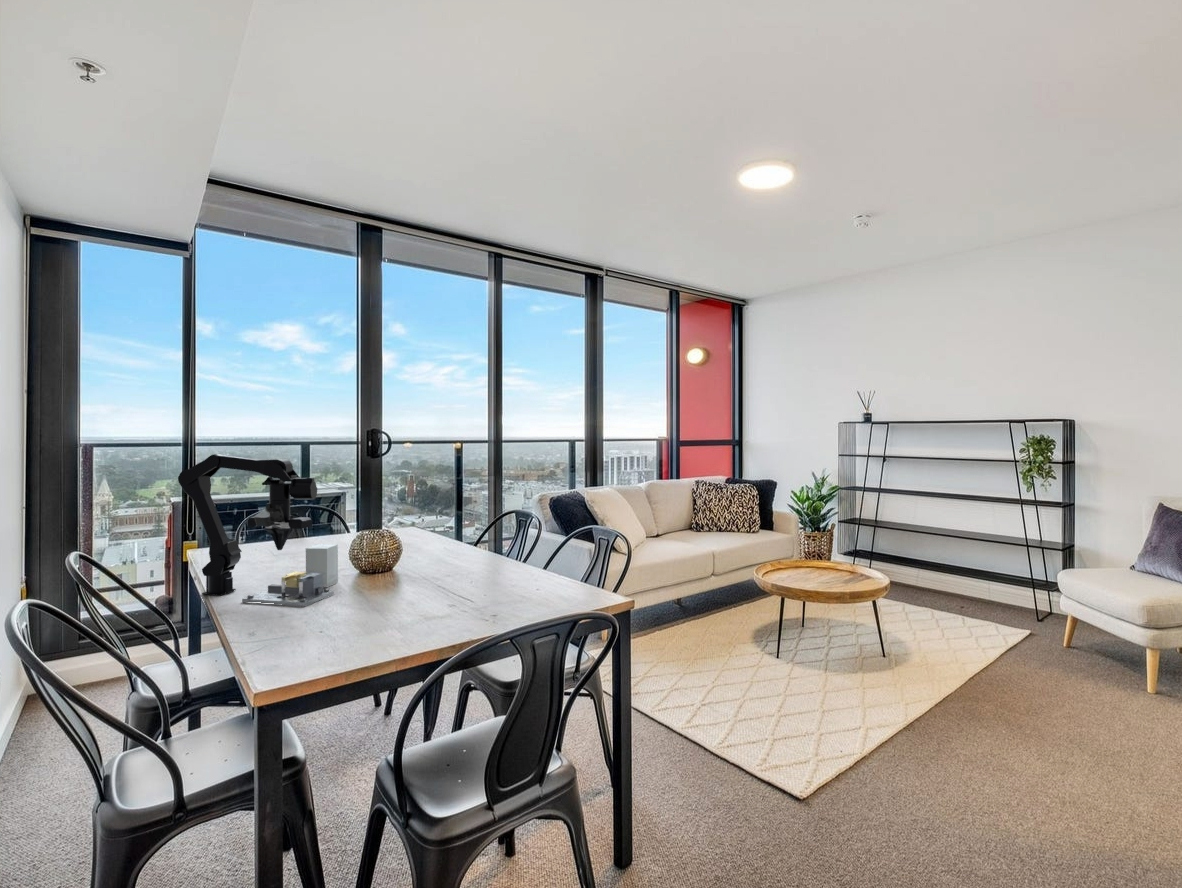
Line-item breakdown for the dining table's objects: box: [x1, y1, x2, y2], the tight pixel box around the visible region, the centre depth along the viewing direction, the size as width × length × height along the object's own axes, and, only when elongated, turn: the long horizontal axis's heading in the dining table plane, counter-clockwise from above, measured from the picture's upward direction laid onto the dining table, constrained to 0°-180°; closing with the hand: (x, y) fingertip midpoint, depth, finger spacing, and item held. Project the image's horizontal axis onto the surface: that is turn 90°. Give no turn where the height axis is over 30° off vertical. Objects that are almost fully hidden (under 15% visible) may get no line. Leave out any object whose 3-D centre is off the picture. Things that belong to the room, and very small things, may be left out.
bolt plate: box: [241, 573, 335, 608], centre depth 179 cm, size 20×14×7 cm
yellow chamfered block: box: [281, 571, 306, 596], centre depth 180 cm, size 4×8×5 cm, turn 169°
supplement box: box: [305, 543, 339, 588], centre depth 196 cm, size 7×7×13 cm
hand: (279, 550), depth 187 cm, fingers closed
